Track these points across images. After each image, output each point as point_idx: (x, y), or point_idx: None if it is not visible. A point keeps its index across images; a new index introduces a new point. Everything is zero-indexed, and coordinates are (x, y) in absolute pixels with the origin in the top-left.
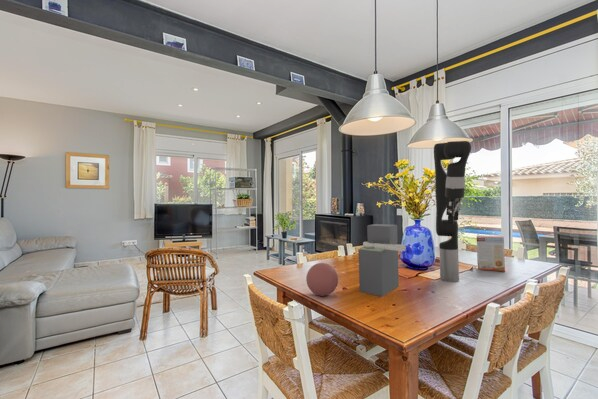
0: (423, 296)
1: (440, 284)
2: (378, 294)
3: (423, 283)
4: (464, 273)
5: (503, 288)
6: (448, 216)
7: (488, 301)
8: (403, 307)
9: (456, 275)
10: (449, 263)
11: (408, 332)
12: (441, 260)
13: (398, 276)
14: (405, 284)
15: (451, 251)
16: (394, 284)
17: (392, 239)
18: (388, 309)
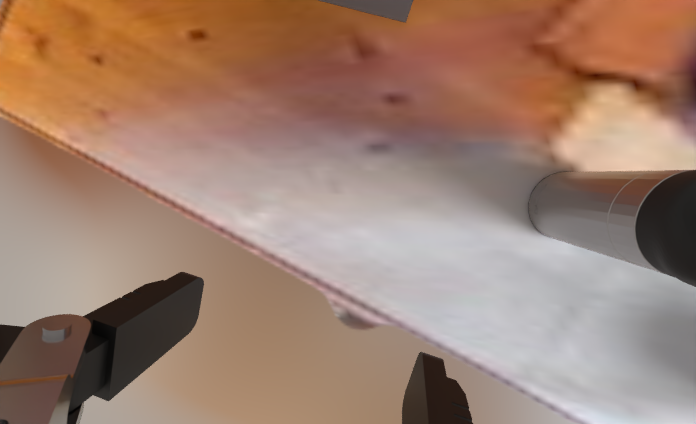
0: (315, 120)
1: (480, 172)
2: None
3: (474, 111)
4: None
5: (498, 364)
6: (106, 318)
7: (341, 302)
8: (186, 67)
9: (551, 233)
10: (576, 215)
11: (26, 99)
12: (604, 179)
13: (411, 2)
14: (436, 45)
15: (626, 236)
16: (364, 3)
17: None
18: (150, 26)
